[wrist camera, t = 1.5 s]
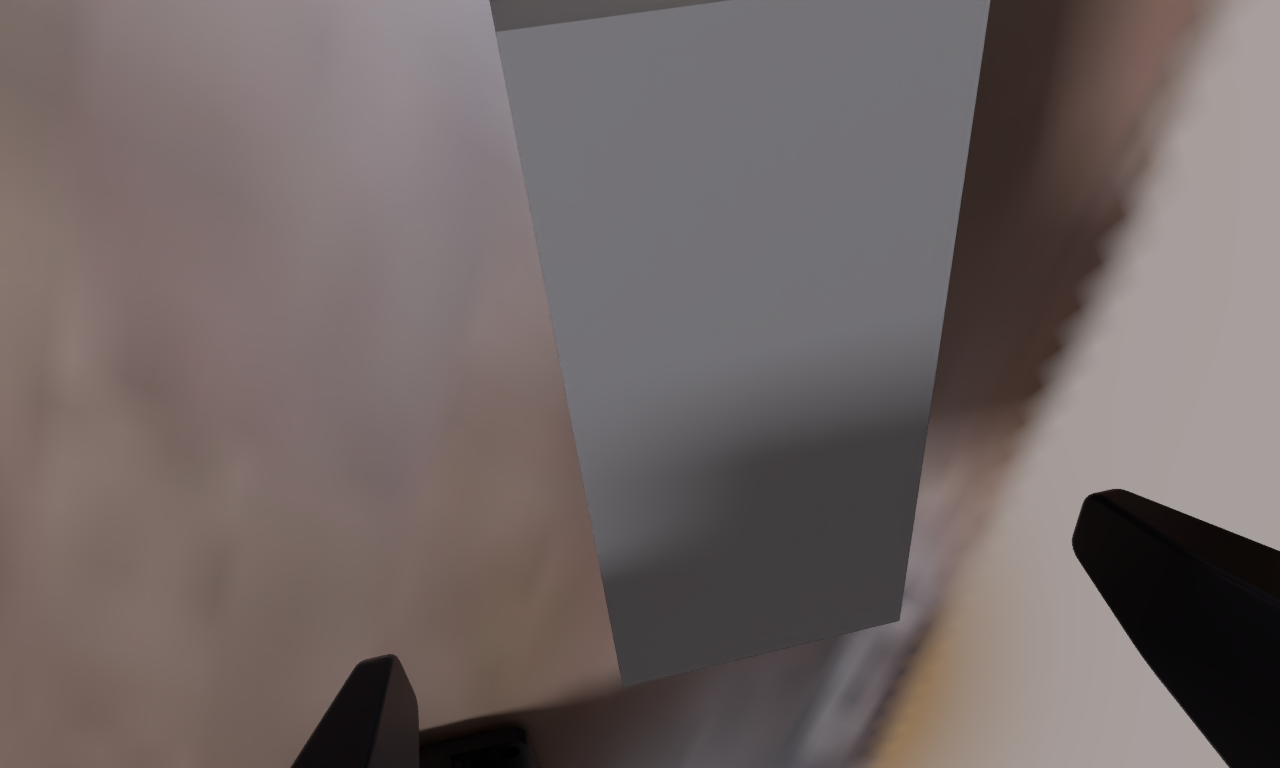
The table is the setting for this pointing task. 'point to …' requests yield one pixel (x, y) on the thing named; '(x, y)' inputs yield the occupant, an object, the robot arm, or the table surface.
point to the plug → (745, 296)
